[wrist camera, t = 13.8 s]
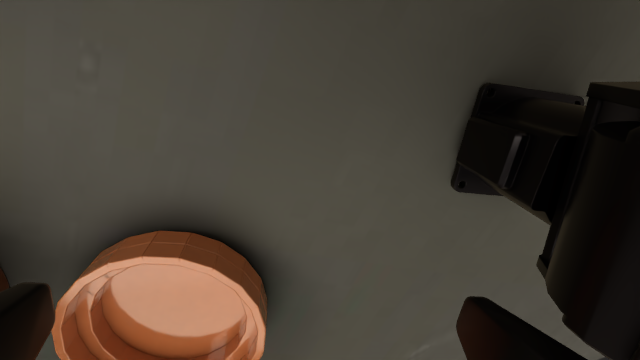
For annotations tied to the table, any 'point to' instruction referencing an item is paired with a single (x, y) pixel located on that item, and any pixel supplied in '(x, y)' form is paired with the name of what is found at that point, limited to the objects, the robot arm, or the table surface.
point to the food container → (3, 281)
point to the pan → (163, 303)
